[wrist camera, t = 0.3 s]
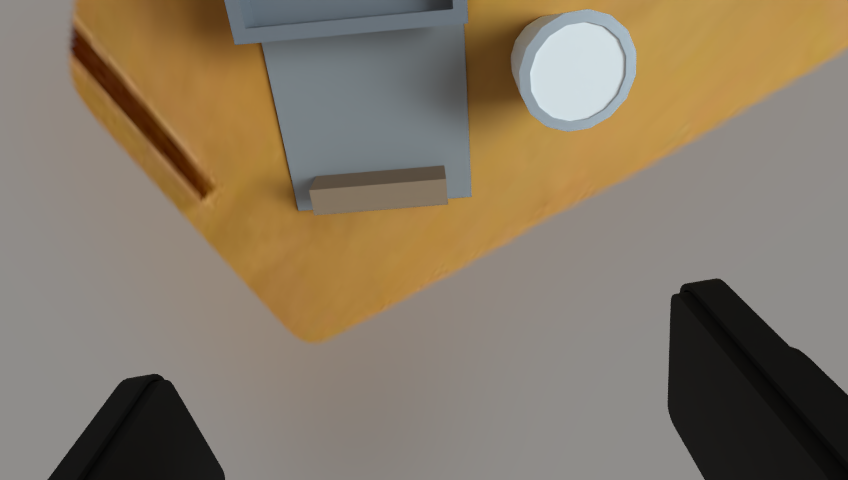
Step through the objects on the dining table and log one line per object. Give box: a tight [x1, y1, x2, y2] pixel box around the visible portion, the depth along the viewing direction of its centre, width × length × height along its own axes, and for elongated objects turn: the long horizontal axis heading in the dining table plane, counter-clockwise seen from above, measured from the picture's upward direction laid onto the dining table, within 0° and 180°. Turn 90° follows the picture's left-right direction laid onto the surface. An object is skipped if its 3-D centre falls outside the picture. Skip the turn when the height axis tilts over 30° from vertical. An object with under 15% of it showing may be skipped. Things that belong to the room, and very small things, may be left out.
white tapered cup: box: [511, 9, 636, 132], centre depth 32 cm, size 7×7×7 cm
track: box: [261, 24, 472, 215], centre depth 32 cm, size 28×14×3 cm, turn 5°
